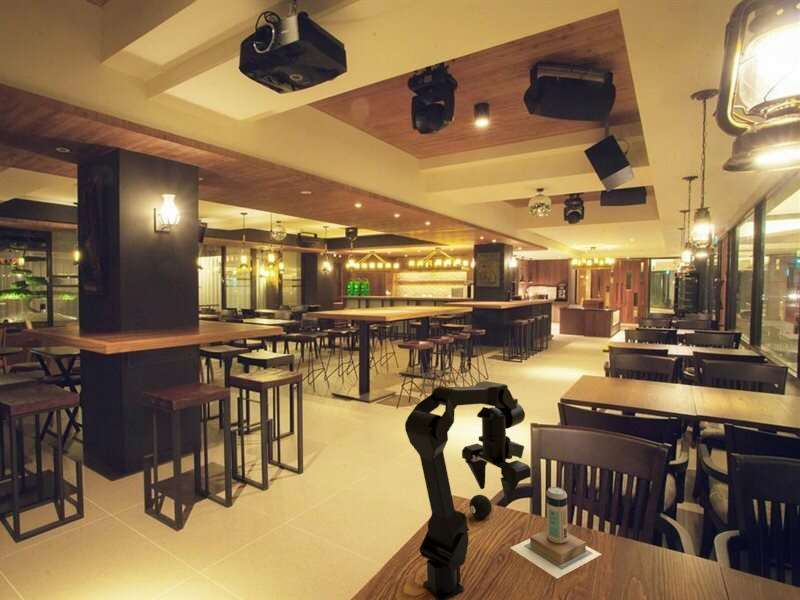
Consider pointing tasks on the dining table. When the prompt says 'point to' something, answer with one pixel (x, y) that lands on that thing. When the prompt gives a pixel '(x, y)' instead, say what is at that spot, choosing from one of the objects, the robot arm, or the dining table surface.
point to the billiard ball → (480, 506)
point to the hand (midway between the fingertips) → (495, 495)
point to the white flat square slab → (549, 564)
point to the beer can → (556, 515)
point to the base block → (558, 547)
